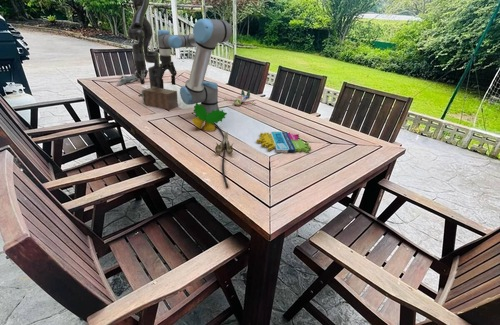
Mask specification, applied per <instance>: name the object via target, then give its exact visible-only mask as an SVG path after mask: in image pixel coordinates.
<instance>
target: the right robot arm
mask: <svg viewBox="0 0 500 325" xmlns="http://www.w3.org/2000/svg"><path fill="white" fill-rule="evenodd" d="M232 35H233V30H232V26H231V24H230V23H229V22H228V21H226V20H224V19H213V18H200V19H197V21H195V22H194V25H193V28H192V33H189V34H171V33H170V31H169V30H168V29H158V30H157V43H158V54H159V62H161V63H159V64H158V71H157V76H156V78H157V79H159V84H160V88H162V89H165V87H164V79H163V78H164V74H165V72H166V71H167V70H168V71H169V73H170V74H171V75H170V79H171V85H173V86H176V77H177V74H178V73H177V69H176V67H175V64H174V61H172V56H171V55H172V50H171V49H179V48H196V49H195V53H194V57H193V61H192V65H191V69H190V74H189V79H187V80H186V81H185V84H184V86H181V87H180V88H179V96H180V98H181V101H182V102H183V103H184V104H185V105H188V106H189V105H194V104H195V105H196V102H197V103H198V104H201V106H204V109H206V112H208V113H211V112H212V110H214V111H216V110H217V109H219V111H221V110H220V108H219V102H218V99H219V98H218V97H219V88H218V84H217V82H214V81H210V80H205V77H206V74H207V70H208V67H209V64H210V60H211V56H212V52H213V51H215V50H216V48H217V45H218V44H222V43H226V42H228V41H230V39H231V38H232ZM208 113H207V115H208ZM213 124H214V126H215V127H216V128H217V129H218V130H219V131H220V133H221V135H222V138H223V140H224V133H223V130H222V129H221V128H220V127H219V126H218V124H217V123H213ZM222 152H223V154H222V160H221V169H222V170H221V171H222V178H223V180H224V183H225V186H226V188H229V184H228V182H227V179H226V174H225V157H226V156H225V155H226V149H225V148H224V149H223V151H222Z"/></svg>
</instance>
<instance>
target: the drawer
mask: <svg viewBox="0 0 500 325" xmlns="http://www.w3.org/2000/svg"><path fill="white" fill-rule="evenodd" d="M149 88H150V87H149ZM149 88H147V89H149ZM144 90H145V89H142V90H141V94H138V97H142V103H143V104H146V102H145V94H144Z"/></svg>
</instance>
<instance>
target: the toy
mask: <svg viewBox="0 0 500 325" xmlns="http://www.w3.org/2000/svg"><path fill="white" fill-rule="evenodd" d="M240 92H241V93H240V95H238V96H237V97H235V99H233V98H230V99H228V98H227V97H226V96H225V97H224V98H223V101H224V102H233V103H232V104H233V105H235V106H242V103H243V104H247V105H252V106H255V105H256V104H257V103H256V102H254V101H253V100H252V101H251V102H250V101H248V100H246V99H248V98H250V97H251V90H250V89H249V90H248V91H247V92H246V93H245V91H244V89H242V90H241V91H240Z"/></svg>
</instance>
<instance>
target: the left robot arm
mask: <svg viewBox="0 0 500 325" xmlns="http://www.w3.org/2000/svg"><path fill="white" fill-rule="evenodd" d="M132 4H133V8H134V11H135V12H134V14H133V15H132V20H131V24H130V25H129V27H128V28H127V31H126V32H127V34H126V35H127V38H128V39H130V40H132V41H138V42H136V43H132V45H131V48H132V57H133V65H134V67H135V71H133V74H135V76H136V77H137V78H138V79H140V81H139V82H140V85H145V78H147V75H148V78H149V88H152V87H157V88H160V84H159V79H157V78H156V76H157V71H158V64H160V54H159V51H155V50H154V51H153V50H150V49H149V46H150V42H151V41H152V38H153V35H154V33H153V28H152V25H151V22H150V21H149V20H148V19H147V17H146V14H147V11H148V9H149V6H150V0H132ZM146 63H148V64H153V65H152V66H149V67H148V69H146V66H147V64H146Z"/></svg>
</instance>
